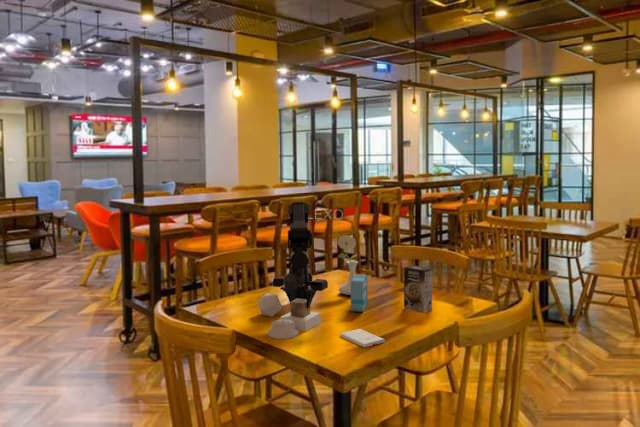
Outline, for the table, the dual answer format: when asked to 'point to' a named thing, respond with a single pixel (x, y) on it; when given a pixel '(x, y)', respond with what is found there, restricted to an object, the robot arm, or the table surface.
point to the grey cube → (299, 308)
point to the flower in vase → (347, 244)
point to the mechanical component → (283, 329)
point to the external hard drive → (362, 338)
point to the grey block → (304, 320)
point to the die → (269, 304)
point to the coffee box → (418, 288)
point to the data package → (359, 293)
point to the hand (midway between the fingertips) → (300, 307)
